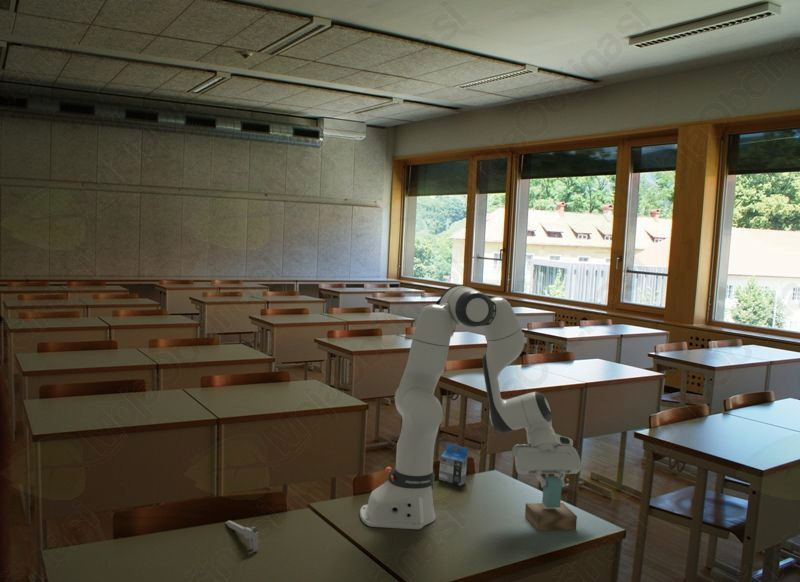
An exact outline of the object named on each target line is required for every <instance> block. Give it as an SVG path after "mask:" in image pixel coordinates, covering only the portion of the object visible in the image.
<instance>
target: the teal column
mask: <svg viewBox="0 0 800 582" xmlns="http://www.w3.org/2000/svg"><path fill="white" fill-rule="evenodd" d="M543 479H544V480H547V483H548V486H547V487H542V488H543V489H542V500H541V503H543V504H544V505H545V506H546V507H547V508H557V507H560V503H562V502H561V501H562V488H563V487H562V481H561V480H560V479H561V478H559V476H553V475H552V476H543Z"/></svg>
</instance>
